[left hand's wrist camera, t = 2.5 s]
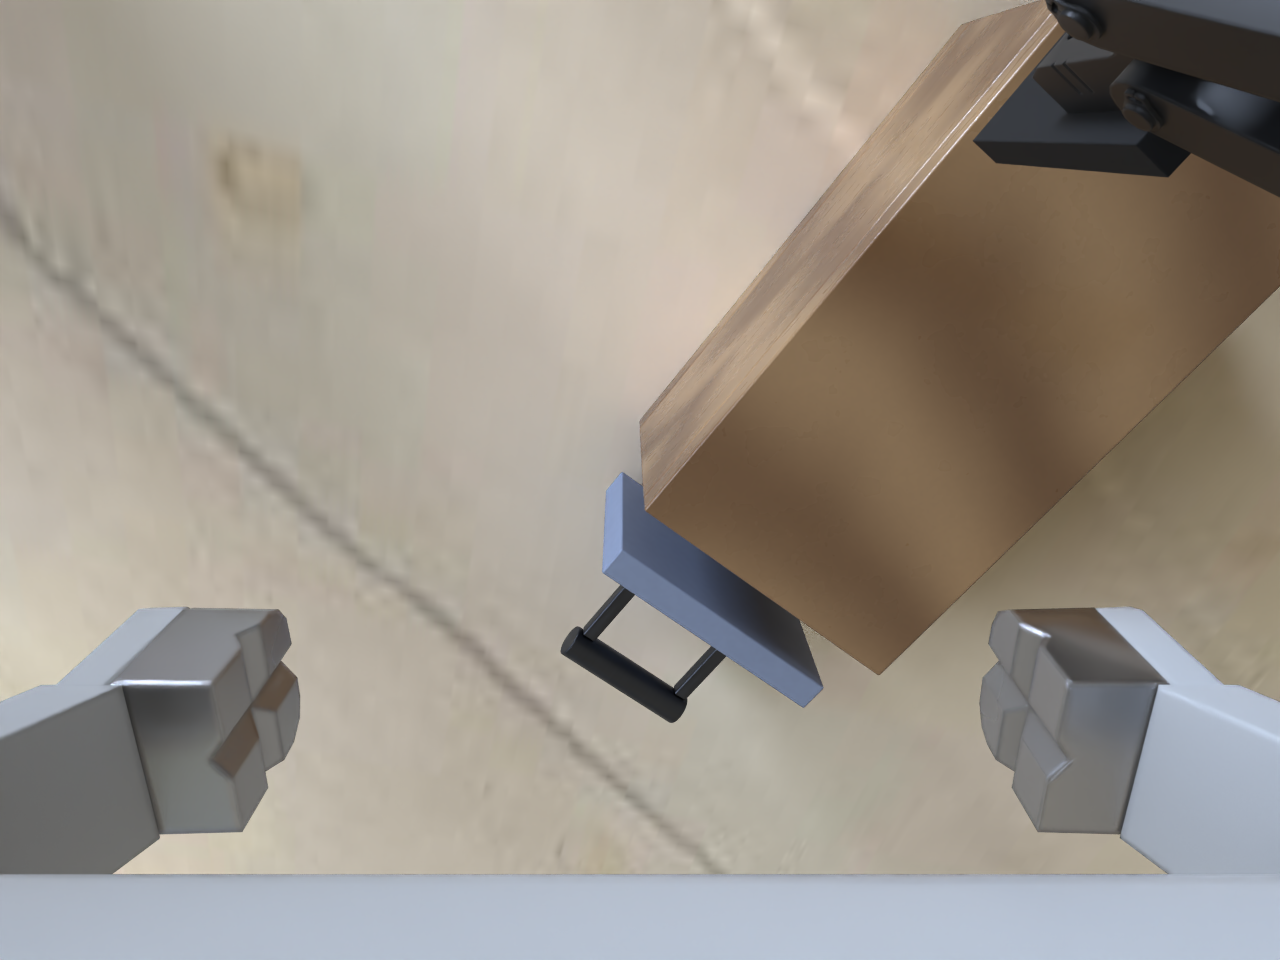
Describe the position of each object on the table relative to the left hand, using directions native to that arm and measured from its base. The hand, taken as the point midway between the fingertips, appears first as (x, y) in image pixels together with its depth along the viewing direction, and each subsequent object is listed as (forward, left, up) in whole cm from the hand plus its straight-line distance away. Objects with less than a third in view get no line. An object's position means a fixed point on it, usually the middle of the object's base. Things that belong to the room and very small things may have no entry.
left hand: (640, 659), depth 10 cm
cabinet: (+11, 0, -28) cm, 30 cm away
